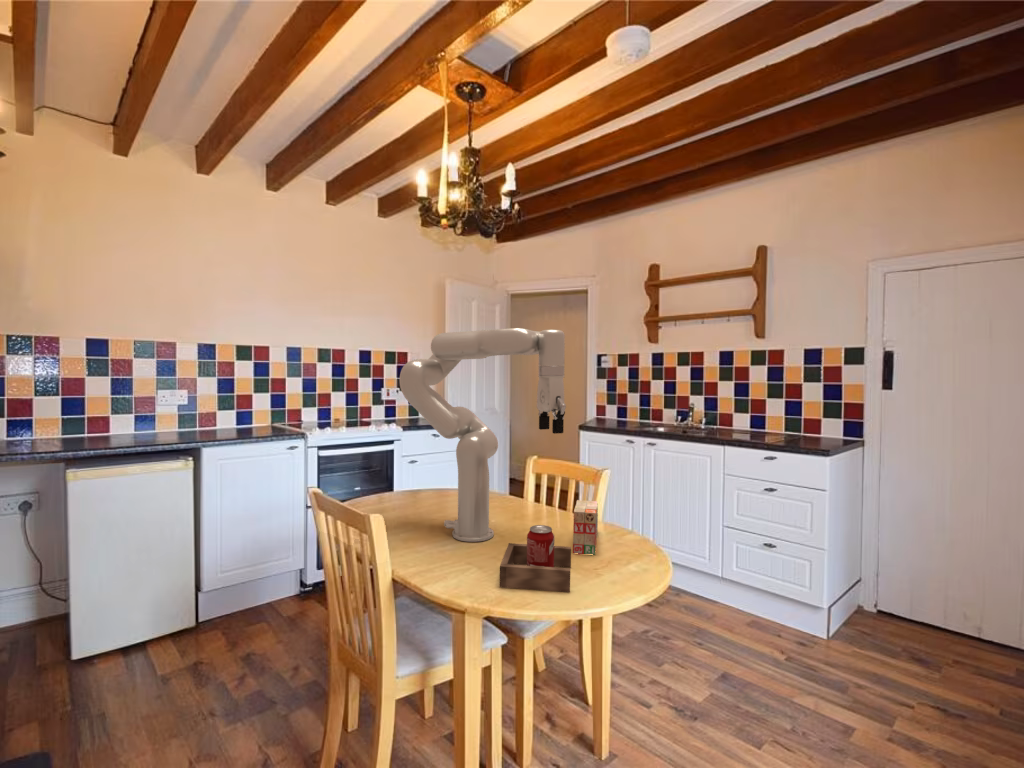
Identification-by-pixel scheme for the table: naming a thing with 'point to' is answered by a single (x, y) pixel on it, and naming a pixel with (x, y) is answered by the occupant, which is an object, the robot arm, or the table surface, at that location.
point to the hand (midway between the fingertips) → (550, 431)
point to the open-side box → (535, 570)
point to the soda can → (540, 546)
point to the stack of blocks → (585, 527)
